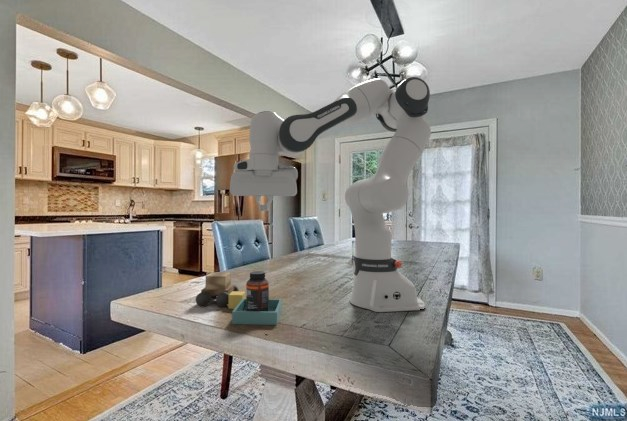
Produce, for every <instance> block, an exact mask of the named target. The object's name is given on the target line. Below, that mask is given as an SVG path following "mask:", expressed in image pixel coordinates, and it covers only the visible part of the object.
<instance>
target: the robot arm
mask: <svg viewBox="0 0 627 421" xmlns="http://www.w3.org/2000/svg"><path fill="white" fill-rule="evenodd" d="M430 95H431V93H430V87H429V85H428V84H427V82H426V81H425V80H423V79H422V78H421V77H417V76H412V77H408V78H406V79H404V80H402V81H401V82H400V83H399V84H398V85H397V87H396V89H395V90H394V89H391V88H390V87H389V85H388V83H387V82H386V81H385V80H383V79H381V78H373V79H370V80H366V81H364V82H361V83H359V84H357V85H354V86H353V87H351V88H349V89H347V90H346V91H344V92H343V93H342V94H340V95H339V96H338V97H337V98H336V99H335V100H334V101H333V102H331V103H329V104H327V105H325V106H322V108H319V109H317V110H315V111H313V112H310V113H305V114H293V115H290V116H288V117H286V118H285V119H283V118H282V117H280V116H279V115H278V114H277V113H276V112H274V111H272V110H271V111H270V110H266V111H265V110H264V111H260V112H257V113H255V114H254V115H253V116H252V117H251V119H250V125H249V134H248V136H249V144H250V151H249V155H248V156H249V157H248V158H247V159H244V160H241V161H237V162H235V163H234V164H233V170H234V172H232V174H231V178H230V183H229V193H230V194H231V195H232V196H233V197H234V196H239V197H244V196H245V197H246V196H247V197H250V196H251V197H254V200H255V203H257V205H258V211H260V212H263V211H264V212H269V211H270V205H271V203H272V202H273V197H295V196H296V195H297V194H298V188H297V187H298V186H297V180H298V177H299V172H298V169H297V168H296V167H294V166H293V165H279V155H280V156H284V157H288V158H295V157H298V156H300V155H302V154H303V153H304V152H305V150H308V149H309V148H310V147H311V146H312V145H313V144H314V142H315V141H316V140H317V138H318V136H321V134H322V133H324V132H326V131H328V130H330V129H332V128H334V127H336V126H338V125H339V124H342V125H344V126H346V127H351V126H354V125H357V124H360V123H362V122H364V121H365V120H367V119H369V118H371V117H373V116H374V115H375V117H376V119H377V120H378V121H379V122H380V124H381V125H382V127H383V128H384V129H385V130H387V131H388V132H392V133H394V134H393V136H392V137H391V139H389V142H388V143H386V145H385V147H384V148H383V150H382V152H381V153H380V155H379V156H378V158H377V163H378V167H377V169H376V171H375V172H374V174H373V175H372V176H371V177H369V178H365V179H359V180H357V181H355V182H353V183H351V184H350V185H349V186H347V189H346V190H345V194H344V200H345V203H346V205H347V206H348V208H349V210H350V213H351V217H352V221H353V226H354V233H355V235H354V236H355V240H354V241H355V246H354V247H355V250H354V251H355V255H354V257H353V261H352V263H353V270H352V271H353V274H354V277H353V285H352V289H351V293H350V298H349V303H350V304H352V305H353V306H355V307H359V308H363V309H367V310H370V311H373V312H376V313H385V312H387V313H389V312H390V313H391V312H404V311H406V312H407V311H408V312H409V311H421V310H420V309H424V308H426V305H425V302H424V301H423V300H422V299H421V298H420V297H418V292H417V289H416V287H415V285H414V283H413V282H412V281H411V280H409V279H408V278H407V277H406V276H405V275H403V273H401V272H400V271H399V270H398V269H400V268H402V267H403V262H401V261H400V260H398V259H397V260H396V259H395V258H393V257H392V232H391V230H390V228H389V227H388V225H387V224H386V221H385V218H384V214H389V213H392V212H395V211H398V210H400V209H403V208H404V207H405V206H406V204H407V202H408V200H409V194H410V193H409V188H408V186H407V182H408V178H409V177H410V174H411V172H412V170H413V169H414V167H415V166H416V164H417V162H418V161H419V159H420V158H421V156H422V154H423V153H424V151H425V149H426V147H427V145H428V143H429V140H430V137H431V135H432V130H431V126H430V124H429V123H428V122H427V121H425V119H424V117H423V116H424V115H426V114H427V113H428V111H429V100H430ZM262 197H266V199H267V200H268V201H267V202H266V204H262V202H261V199H262ZM424 310H425V309H424Z"/></svg>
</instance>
